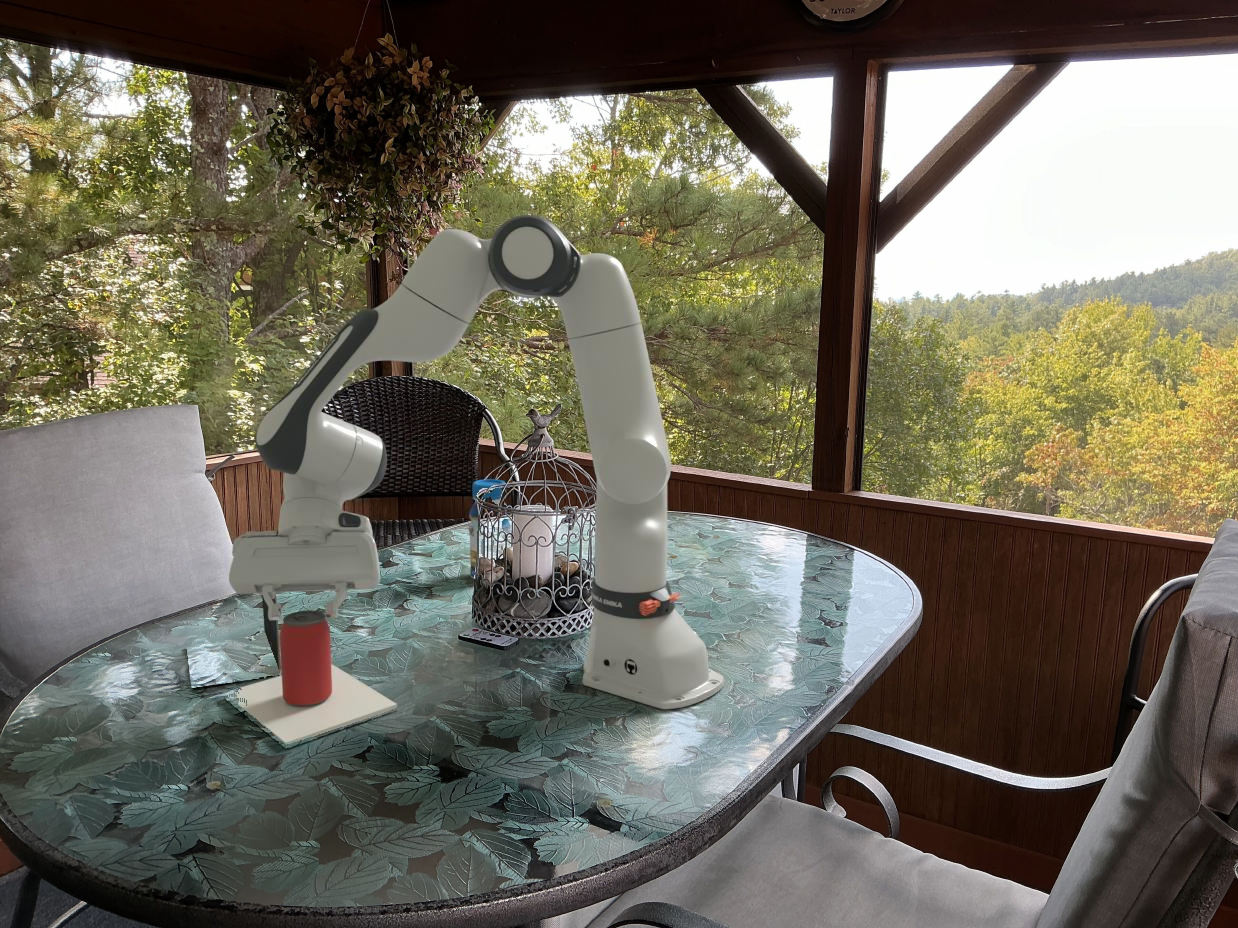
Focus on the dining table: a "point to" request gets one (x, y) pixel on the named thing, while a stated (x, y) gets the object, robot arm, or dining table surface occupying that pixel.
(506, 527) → the beverage bottle
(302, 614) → the beer can
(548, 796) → the dining table surface
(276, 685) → the ceramic tile
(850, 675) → the dining table surface
